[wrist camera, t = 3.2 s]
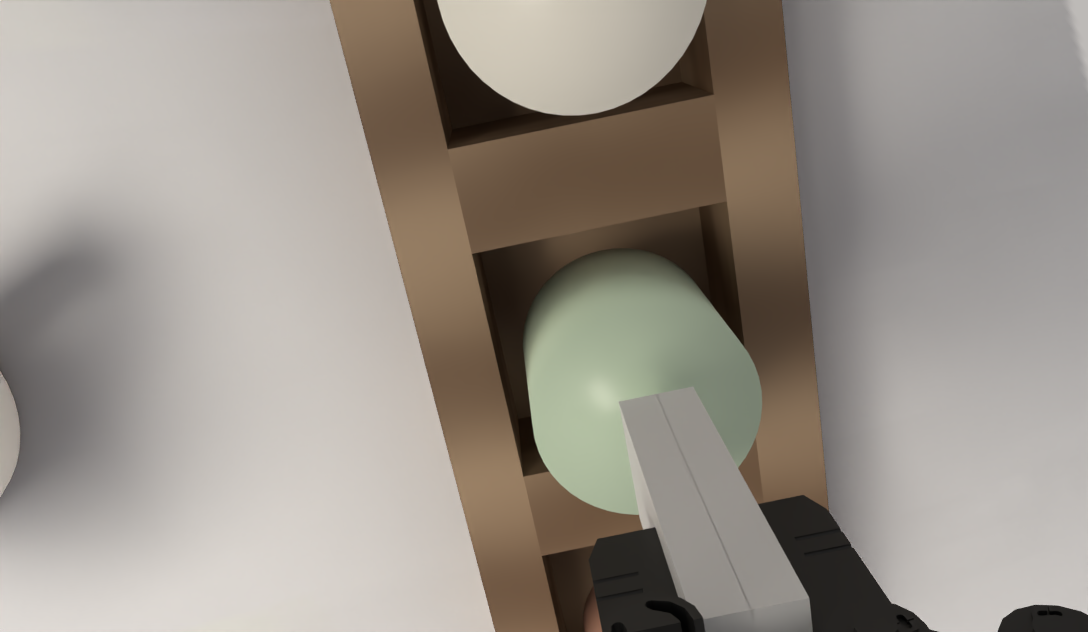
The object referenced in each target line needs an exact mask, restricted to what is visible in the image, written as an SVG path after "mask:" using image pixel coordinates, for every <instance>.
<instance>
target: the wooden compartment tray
mask: <svg viewBox="0 0 1088 632" xmlns="http://www.w3.org/2000/svg"><path fill="white" fill-rule="evenodd" d="M330 4H331V7H332V11H333V15H334V19H335V23H336V26H337V30H338V34H339V38H340V42H341V45H342V49H343V53H344V57H345V61H346V65H347V68H348V72H349V76H350V80H351V84H352V87H353V91H354V95H355V99H356V103H357V106H358V110H359V114H360V118H361V122H362V125H363V129H364V133H365V137H366V141H367V144H368V148H369V152H370V156H371V160H372V164H373V167H374V171H375V175H376V179H377V183H378V186H379V190H380V194H381V198H382V202H383V205H384V209H385V213H386V217H387V221H388V224H389V228H390V232H391V236H392V240H393V244H394V247H395V251H396V255H397V259H398V263H399V266H400V270H401V274H402V278H403V282H404V285H405V289H406V293H407V297H408V301H409V304H410V308H411V312H412V316H413V320H414V323H415V327H416V331H417V335H418V339H419V343H420V346H421V350H422V354H423V358H424V362H425V365H426V369H427V373H428V377H429V381H430V384H431V388H432V392H433V396H434V400H435V403H436V407H437V411H438V415H439V419H440V422H441V426H442V430H443V434H444V438H445V442H446V445H447V449H448V453H449V457H450V461H451V464H452V468H453V472H454V476H455V480H456V483H457V487H458V491H459V495H460V499H461V502H462V506H463V510H464V514H465V518H466V522H467V525H468V529H469V533H470V537H471V541H472V544H473V548H474V552H475V556H476V560H477V563H478V567H479V571H480V575H481V579H482V582H483V586H484V590H485V594H486V598H487V601H488V605H489V609H490V613H491V617H492V621H493V624H494V628H495V632H584V626H583V613H584V607H585V603H586V600H587V597H588V595H589V593H590V591H591V589H592V587H593V580H592V575H591V570H590V564H589V558H590V555H591V553H592V550H593V548H594V546H595V543H596V541H597V539H599V538H604V537H609V536H614V535H619V534H624V533H629V532H634V531H638V530H643V527H642V524H641V521H640V517H639V515H632V514H621V513H616V512H611V511H607V510H604V509H601V508H598V507H595V506H592V505H590V504H588V503H586V502H584V501H582V500H580V499H579V498H577V497H576V496H574V495H573V494H571V493H570V492H569V491H568V490H566V489H565V488H564V487H563V486H562V485H561V484H560V483H559V482H558V481H557V480H556V479H555V478H554V477H553V476H552V474H551V473H550V471H549V470H548V468H547V467H546V465H545V464H544V462H543V460H542V458H541V456H540V454H539V451H538V448H537V445H536V442H535V438H534V432H533V425H532V418H531V409H530V401H529V393H528V385H527V377H526V368H525V360H524V352H523V332H524V325H525V321H526V318H527V314H528V311H529V309H530V307H531V304H532V302H533V300H534V299H535V297H536V295H537V294H538V292H539V291H540V289H541V288H542V287H543V286H544V284H545V283H546V282H547V281H548V280H549V279H550V278H551V277H552V276H553V275H554V274H555V273H556V272H557V271H559V270H560V269H561V268H563V267H564V266H565V265H567V264H569V263H570V262H572V261H574V260H576V259H578V258H580V257H582V256H585V255H587V254H590V253H593V252H597V251H601V250H607V249H614V248H630V249H639V250H644V251H648V252H652V253H654V254H657V255H659V256H662V257H664V258H666V259H668V260H670V261H671V262H673V263H675V264H676V265H677V266H679V267H680V268H681V269H683V270H684V271H685V272H686V273H687V274H688V275H689V276H690V277H691V278H692V279H693V280H694V282H695V283H696V284H697V286H698V287H699V288H700V290H701V291H702V292H703V294H704V295H705V296H706V298H707V299H708V300H709V302H710V303H711V304H712V305H713V307H714V308H715V309H716V311H717V312H718V313H719V315H720V316H721V317H722V319H723V320H724V321H725V323H726V324H727V325H728V327H729V328H730V329H731V330H732V332H733V333H734V334H735V336H736V337H737V338H738V340H739V341H740V342H741V344H742V345H743V346H744V348H745V349H746V350H747V352H748V353H749V355H750V357H751V359H752V361H753V363H754V365H755V368H756V370H757V373H758V376H759V380H760V385H761V390H762V412H761V420H760V424H759V428H758V432H757V435H756V437H755V440H754V442H753V445H752V447H751V449H750V450H749V452H748V454H747V456H746V458H745V459H744V460H743V462H742V463H741V465H740V466H739V467H738V469H739V471H740V473H741V475H742V476H743V478H744V480H745V482H746V484H747V485H748V487H749V489H750V491H751V493H752V495H753V496H754V498H755V500H756V502H757V504H760V503H765V502H770V501H775V500H780V499H785V498H790V497H795V496H800V495H805V496H806V497H808V498H809V499H811V500H813V501H814V502H816V503H818V504H819V505H821V506H823V507H824V508H826V509H827V510H828V511H829V508H828V497H827V487H826V476H825V465H824V454H823V443H822V432H821V422H820V411H819V400H818V389H817V378H816V367H815V357H814V346H813V335H812V324H811V313H810V302H809V292H808V281H807V270H806V259H805V248H804V237H803V227H802V216H801V205H800V194H799V183H798V172H797V162H796V151H795V140H794V129H793V118H792V107H791V97H790V86H789V75H788V64H787V53H786V42H785V32H784V21H783V10H782V0H707V1H706V5H705V8H704V12H703V15H702V18H701V21H700V24H699V26H698V28H697V30H696V32H695V35H694V37H693V39H692V41H691V42H690V44H689V46H688V47H687V49H686V51H685V52H684V54H683V55H682V57H681V58H680V59H679V61H678V62H677V63H676V64H675V66H674V67H673V68H672V69H671V70H670V71H669V72H668V73H667V74H666V75H665V76H664V77H663V78H662V79H661V80H660V81H659V82H658V83H657V84H656V85H654V86H653V87H652V88H650V89H649V90H648V91H647V92H645V93H644V94H642V95H640V96H639V97H637V98H635V99H633V100H632V101H630V102H628V103H625V104H623V105H621V106H618V107H616V108H614V109H610V110H606V111H603V112H599V113H594V114H587V115H556V114H548V113H543V112H539V111H536V110H532V109H529V108H526V107H524V106H521V105H519V104H517V103H514V102H512V101H511V100H509V99H507V98H505V97H504V96H502V95H500V94H499V93H497V92H496V91H495V90H493V89H492V88H491V87H489V86H488V85H487V84H486V83H484V82H483V81H482V80H481V79H480V78H479V77H478V76H477V75H476V74H475V73H474V72H473V71H472V70H471V69H470V67H469V66H468V65H467V63H466V62H465V61H464V59H463V58H462V57H461V55H460V54H459V52H458V51H457V49H456V47H455V45H454V44H453V42H452V40H451V39H450V36H449V34H448V32H447V29H446V27H445V25H444V22H443V19H442V16H441V12H440V9H439V6H438V2H437V0H330Z"/></svg>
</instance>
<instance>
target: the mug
mask: <svg viewBox="0 0 1088 632" xmlns="http://www.w3.org/2000/svg"><path fill="white" fill-rule="evenodd" d="M19 450H20V424H19V416H18V411H17V408H16V404H15V400H14V397H13V395H12V393H11V390H10V388H9V386H8V383H7V382H6V380H5V378H4V377H3V375H2V373H1V371H0V497H1V495H2V493H3V492H4V490H5V488H6V486H7V485H8V483H9V481H10V480H11V478H12V475H13V473H14V470H15V467H16V465H17V460H18V455H19Z"/></svg>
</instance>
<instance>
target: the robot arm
mask: <svg viewBox="0 0 1088 632" xmlns="http://www.w3.org/2000/svg"><path fill="white" fill-rule="evenodd" d="M619 407H620V412H621V418H622V423H623V429H624V434H625V440H626V445H627V451H628V456H629V462H630V467H631V473H632V478H633V484H634V489H635V495H636V500H637V506H638V511H639V517H640V521H641V524H642V527H643V530H638V531H634V532H629V533H624V534H619V535H614V536H609V537H604V538H599V539H597V541H596V543H595V546H594V548H593V550H592V553H591V555H590V558H589V564H590V570H591V575H592V580H593V586H594V591H595V596H596V601H597V607H598V612H599V618H600V623H601V628H602V632H937V631H934V630H930V629H929V628H928V627H927V625H926V624H925V623H924V622H923V621H922V620H921V619H920V618H918V617H917V616H916V615H915V614H914V613H913V612H911V611H909V610H907V609H904V608H902V607H900V606H898V605H896V604H891V602H890V601H889V599H888V598H887V596H886V595H885V594H884V592H883V591H882V589H881V588H880V586H879V585H878V583H877V582H876V580H875V579H874V577H873V576H872V574H871V573H870V572H869V570H868V569H867V567H866V566H865V564H864V563H863V561H862V560H861V558H860V557H859V555H858V554H857V552H856V551H855V550H854V548H852V547H851V544H850V542H849V541H848V539H847V538H846V536H845V535H844V533H843V532H841V531H840V528H839V526H838V525H837V523H836V522H835V520H834V519H833V517H832V516H831V514H830V513H829V511H828V510H827V509H826V508H824V507H823V506H821V505H819V504H818V503H816V502H814V501H813V500H811V499H809V498H808V497H806V496H805V495H800V496H795V497H790V498H785V499H780V500H775V501H770V502H765V503H760V504H757V502H756V500H755V498H754V496H753V495H752V493H751V491H750V489H749V487H748V485H747V484H746V482H745V480H744V478H743V476H742V475H741V473H740V471H739V469H738V467H737V465H736V464H735V462H734V460H733V458H732V456H731V455H730V453H729V451H728V449H727V447H726V445H725V444H724V442H723V440H722V438H721V436H720V435H719V433H718V431H717V429H716V427H715V425H714V424H713V422H712V420H711V418H710V416H709V415H708V413H707V411H706V409H705V407H704V405H703V404H702V402H701V400H700V398H699V396H698V395H697V393H696V391H695V389H694V387H688V388H683V389H678V390H673V391H668V392H663V393H658V394H653V395H649V396H644V397H639V398H634V399H629V400H624V401H619ZM998 632H1088V615H1087V614H1085V613H1083V612H1081V611H1077V610H1073V609H1069V608H1065V607H1061V606H1052V605H1033V606H1029V607H1024V608H1020V609H1016V610H1015V611H1013V612H1012V613H1010V614H1009V615H1007V616H1006V617H1004V618H1003V620H1002V622H1001V624H1000V627H999V629H998Z"/></svg>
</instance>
